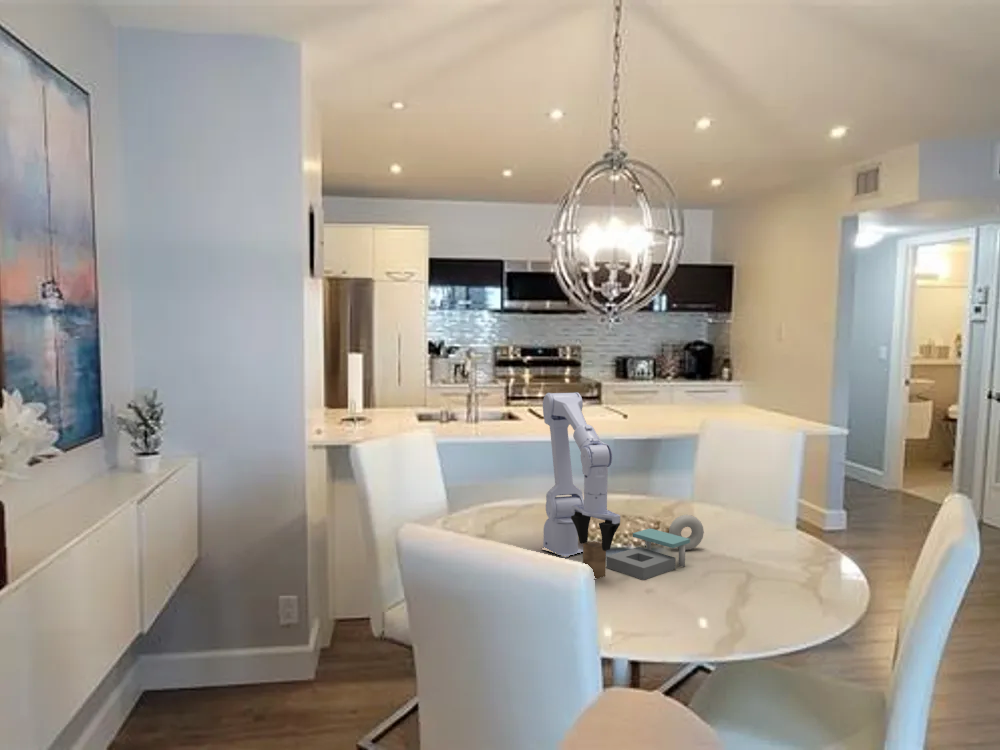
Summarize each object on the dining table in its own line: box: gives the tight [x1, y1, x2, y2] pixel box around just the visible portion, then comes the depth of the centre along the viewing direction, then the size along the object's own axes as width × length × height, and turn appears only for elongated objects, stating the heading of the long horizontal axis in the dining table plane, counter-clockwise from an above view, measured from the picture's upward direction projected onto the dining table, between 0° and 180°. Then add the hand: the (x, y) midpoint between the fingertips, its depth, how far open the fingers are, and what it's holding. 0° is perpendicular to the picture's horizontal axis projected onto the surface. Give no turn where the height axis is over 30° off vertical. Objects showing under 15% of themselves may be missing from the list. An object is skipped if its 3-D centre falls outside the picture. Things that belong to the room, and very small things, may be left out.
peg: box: [582, 540, 607, 580], centre depth 187 cm, size 4×4×8 cm
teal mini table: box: [632, 527, 690, 568], centre depth 198 cm, size 13×8×7 cm, turn 41°
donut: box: [668, 514, 705, 551], centre depth 209 cm, size 10×4×10 cm, turn 97°
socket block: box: [606, 546, 676, 581], centre depth 193 cm, size 12×13×3 cm
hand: (594, 546), depth 186 cm, fingers open, 7 cm apart
